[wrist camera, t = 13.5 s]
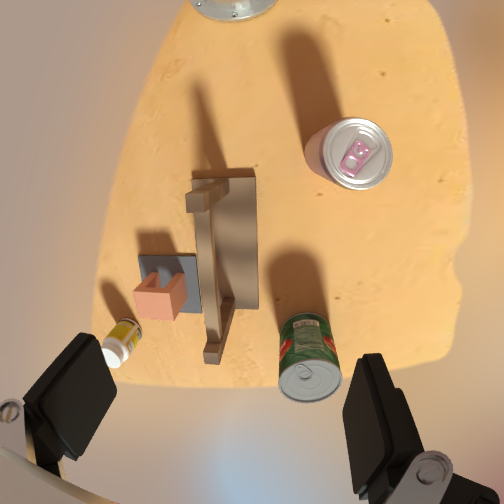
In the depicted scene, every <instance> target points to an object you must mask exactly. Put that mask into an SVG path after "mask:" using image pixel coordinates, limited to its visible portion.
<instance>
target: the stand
mask: <svg viewBox="0 0 504 504" xmlns="http://www.w3.org/2000/svg"><path fill="white" fill-rule="evenodd" d="M191 182H192V191H191V192H189V193H186V194H185V198H186V211H187V213H194V225H195V238H196V249H197V260H198V270H199V279H200V289H201V297H202V306H203V309H204V317H205V325H206V333H207V343H206V345H205V348H204V351H203V356H204V362H205V364H215V365H219V364H220V361H221V357H222V354H223V350H224V347H225V343H226V340H227V336H228V333H229V329H230V325H231V322H232V318H233V315H234V311H235V309H258V308H259V288H258V243H257V202H256V177H228V178H205V179H193V180H191Z"/></svg>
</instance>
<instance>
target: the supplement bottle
mask: <svg viewBox="0 0 504 504" xmlns="http://www.w3.org/2000/svg"><path fill="white" fill-rule="evenodd" d="M141 337H142V330H141V328H140V326H139V325H138V324H137V323H136V322H135V321H133V320H131V319H128V318H124V319H122V320H120V321H119V322H118V324H117V325H116V326H115V327H114V328H113V329H112V331H111V332H110V333H109V334H108V336H107V337H106V338H105V339H104V341H103V345H102V347H101V349H102V352H103V354H104V357H105V360H106V363H107V365H108V366H109V367H111V368H118V367H119V366H120V365H121V364H122V362H123V361H125V360H127V359H128V357H129V356H130V354H131V353H132V351H133V350H134V348H135V347H136V345H137V344H138V342H139V341H140V339H141Z"/></svg>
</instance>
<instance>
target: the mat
mask: <svg viewBox="0 0 504 504" xmlns="http://www.w3.org/2000/svg"><path fill="white" fill-rule="evenodd" d="M138 261H139V267H140V273H141V278H142V281H143V280H144V279H145V278H146V277H147V276H148V275H149V274H150V273H151V272H159V276H160V283H161V288H165V287H166V285H167V284H168V283H169V282H170V280H171V279H172V278H173V277H174V275H175V274H176V273H185V281H186V289H187V297H188V298H187V300H186V302H185V303H184V305H183V307H182V308H181V310H180V312H183V313H201V314H202V305H201V296H200V287H199V278H198V269H197V259H196V256H160V255H139V256H138Z"/></svg>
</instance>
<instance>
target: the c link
mask: <svg viewBox="0 0 504 504" xmlns="http://www.w3.org/2000/svg"><path fill="white" fill-rule="evenodd" d="M133 295H134V300H135V304H136V309H137V313H138V317H139V318H145V319H156V320H167V321H174V320H175V318H176V317H177V315H178V313H179V312H180V310H181V308H182V307H183V305H184V303H185V302H186V300H187V298H188V297H187V289H186V281H185V273H176V274H175V275H174V277H173V278H172V279H171V280H170V282H169V283H168V284H167V285H166V287H165V288H161V283H160V276H159V272H151V273H150V274H149V275H148V276H147V277H146V278H145V279H144V280H143V281H142V282H141V283H140V284H139V285H138V286H137V287H136V288H135V290H134V291H133Z"/></svg>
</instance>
